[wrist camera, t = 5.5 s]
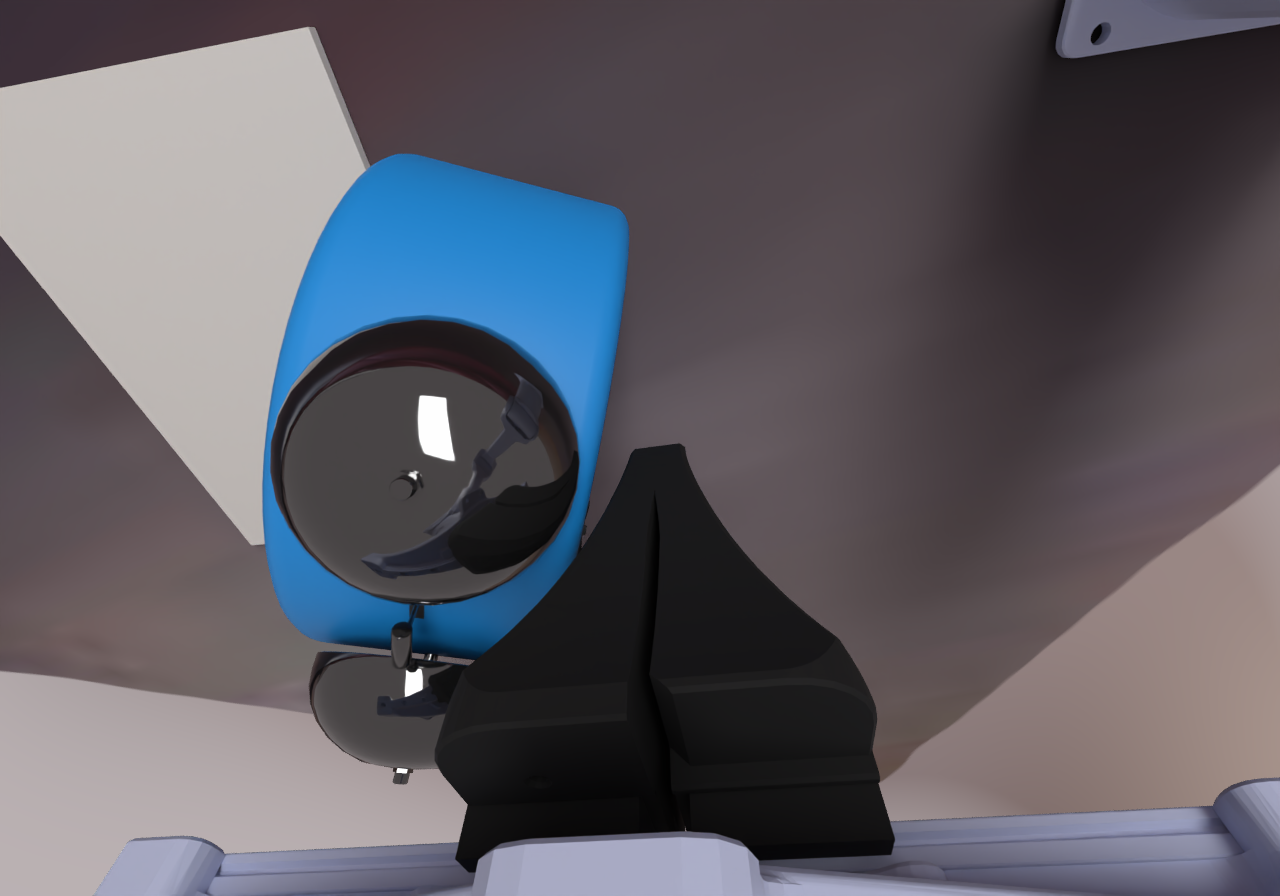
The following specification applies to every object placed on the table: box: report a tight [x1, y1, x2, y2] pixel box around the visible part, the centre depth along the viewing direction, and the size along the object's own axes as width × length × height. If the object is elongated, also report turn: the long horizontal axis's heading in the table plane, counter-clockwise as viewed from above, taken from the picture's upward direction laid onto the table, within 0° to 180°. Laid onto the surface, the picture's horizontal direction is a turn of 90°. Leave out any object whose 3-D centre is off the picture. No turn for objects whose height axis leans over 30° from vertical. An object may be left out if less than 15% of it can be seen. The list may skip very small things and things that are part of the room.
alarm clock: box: [262, 154, 629, 784], centre depth 16 cm, size 13×6×15 cm, turn 166°
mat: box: [0, 27, 370, 545], centre depth 23 cm, size 14×20×1 cm
